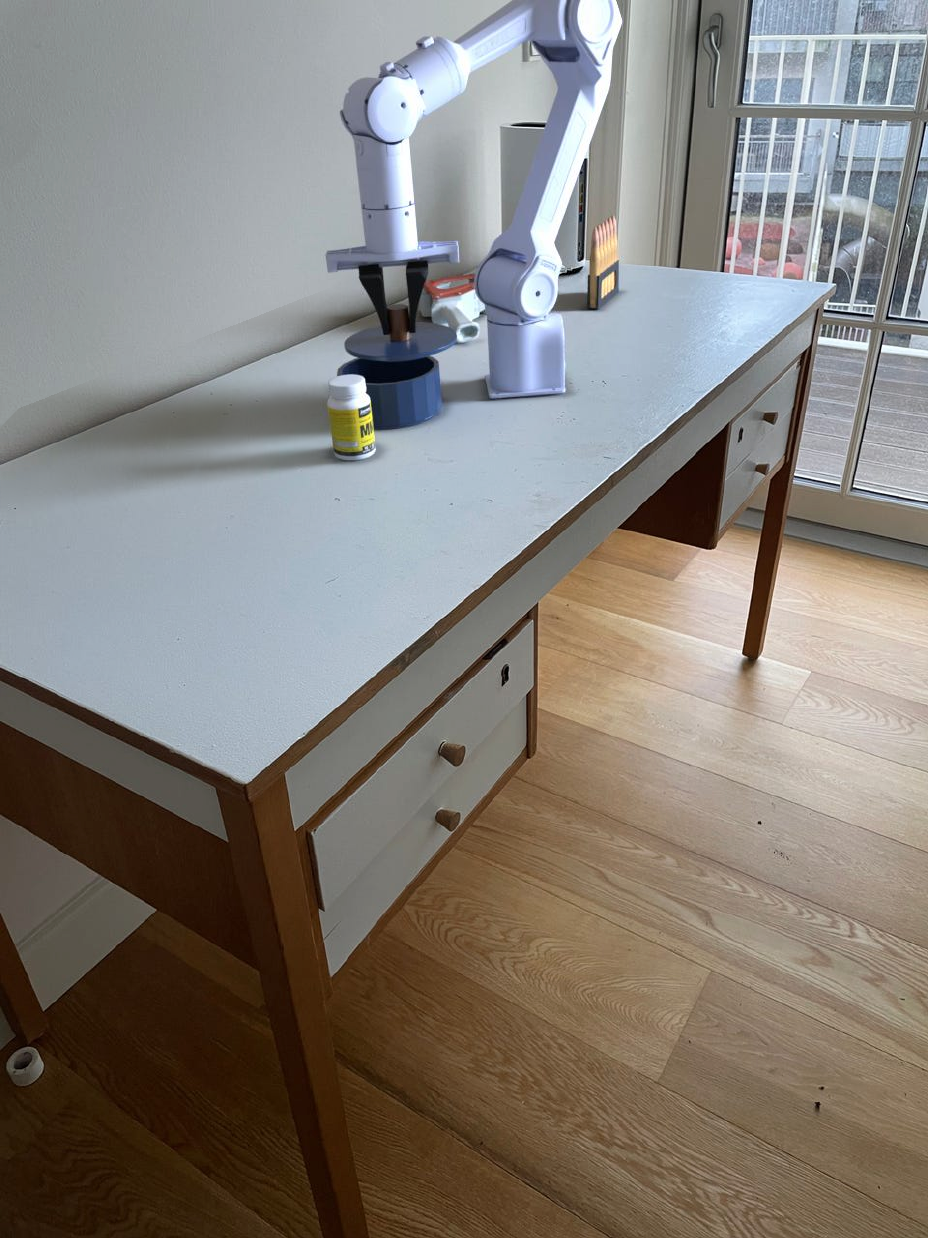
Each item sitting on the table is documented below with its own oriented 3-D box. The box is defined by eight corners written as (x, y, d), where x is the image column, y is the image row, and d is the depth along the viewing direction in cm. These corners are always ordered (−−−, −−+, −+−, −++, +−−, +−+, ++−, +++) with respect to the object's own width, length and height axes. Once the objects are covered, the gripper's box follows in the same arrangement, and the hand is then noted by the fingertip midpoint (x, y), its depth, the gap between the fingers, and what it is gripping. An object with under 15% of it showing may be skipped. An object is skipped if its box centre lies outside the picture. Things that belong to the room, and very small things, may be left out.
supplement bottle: (369, 462, 107) (360, 388, 102) (328, 461, 108) (317, 387, 103) (381, 445, 111) (373, 372, 106) (341, 444, 112) (331, 372, 107)
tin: (440, 389, 125) (437, 348, 122) (443, 425, 115) (440, 380, 112) (345, 397, 125) (340, 355, 122) (340, 432, 115) (333, 388, 112)
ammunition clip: (598, 310, 151) (599, 228, 145) (586, 309, 152) (587, 227, 145) (618, 291, 159) (620, 213, 153) (607, 291, 160) (609, 213, 153)
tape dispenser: (468, 357, 140) (535, 311, 153) (466, 321, 137) (534, 277, 150) (369, 338, 148) (441, 296, 161) (365, 303, 145) (439, 263, 158)
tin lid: (455, 327, 119) (453, 288, 116) (459, 361, 108) (456, 318, 105) (349, 335, 119) (344, 296, 116) (341, 370, 108) (335, 327, 105)
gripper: (454, 193, 108) (462, 316, 115) (323, 203, 108) (339, 326, 115) (456, 204, 102) (464, 334, 109) (317, 215, 102) (335, 344, 109)
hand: (400, 331), depth 112 cm, fingers closed on tin lid, 2 cm apart
